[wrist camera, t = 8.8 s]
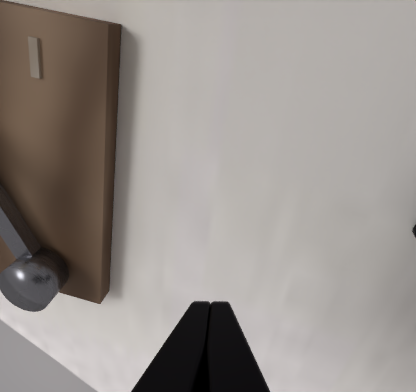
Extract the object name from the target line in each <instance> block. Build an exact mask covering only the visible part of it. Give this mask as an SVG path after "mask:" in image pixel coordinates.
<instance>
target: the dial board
mask: <svg viewBox="0 0 416 392" xmlns="http://www.w3.org/2000/svg"><path fill="white" fill-rule="evenodd" d="M120 40H121V24H117V23H112V22H107V21H102V20H97V19H92V18H87V17H82V16H77V15H73V14H68V13H63V12H58V11H53V10H48V9H43V8H38V7H33V6H29V5H24V4H19V3H14V2H9V1H4V0H0V182H1V184H2V185H3V187H4V189H5V190H6V192H7V193H8V195H9V197H10V198H11V200H12V201H13V203H14V204H15V206H16V208H17V209H18V211H19V212H20V214H21V216H22V217H23V219H24V220H25V222H26V224H27V225H28V227H29V228H30V230H31V231H32V233H33V235H34V236H35V238H36V239H37V241H38V243H39V244H40V246H41V247H43V248H46V249H49V250H51V251H53V252H54V253H56V254H57V255H58V256H60V257H61V258H62V260H63V261H64V262H65V264H66V265H67V267H68V270H69V279H68V281H67V283H66V284H65V285H64V286H63V288H62V289H61V290H60V291H59V292H60V293H63V294H67V295H70V296H74V297H77V298H81V299H84V300H87V301H91V302H94V303H98V304H101V302H102V301H103V299H104V298H105V296H106V295H107V293H108V292H109V284H110V262H111V240H112V218H113V195H114V173H115V151H116V129H117V107H118V85H119V62H120ZM15 260H16V258H15V256H14V255H13V253H12V252H11V250H10V249H9V248H8V246H7V245H6V243H5V242H4V240H3V239H2V237H1V236H0V273H1V272H2V271H3V270H5V269H6V268H7V267H8V266H9V265H10V264H12V263H13V262H14V261H15Z"/></svg>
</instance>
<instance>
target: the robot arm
mask: <svg viewBox="0 0 416 392" xmlns="http://www.w3.org/2000/svg"><path fill="white" fill-rule="evenodd" d="M412 232H413V234H414V236H415V237H416V225H415V226H414V228H413V231H412ZM131 392H270V390H269V388H268V386H267V384H266V382H265V379H264V377H263V375H262V373H261V371H260V369H259V366H258V364H257V362H256V360H255V358H254V355H253V353H252V351H251V349H250V347H249V345H248V342H247V340H246V338H245V336H244V334H243V332H242V329H241V327H240V325H239V323H238V321H237V319H236V316H235V314H234V312H233V310H232V308H231V305H230V304H229V303H228V302H220V301H214V302H212V303H211V304H210V302H208V301H194V302H192V304H191V305H190V306H189V308H188V309H187V311H186V312H185V314H184V315H183V317H182V318H181V319H180V321H179V322H178V324H177V325H176V327H175V328H174V330H173V331H172V333H171V334H170V336H169V337H168V338H167V340H166V341H165V343H164V344H163V346H162V347H161V349H160V350H159V352H158V353H157V355H156V356H155V358H154V359H153V360H152V362H151V363H150V365H149V366H148V368H147V369H146V371H145V372H144V374H143V375H142V377H141V378H140V379H139V381H138V382H137V384H136V385H135V387H134V388H133V390H132V391H131Z"/></svg>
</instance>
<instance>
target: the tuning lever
mask: <svg viewBox="0 0 416 392" xmlns="http://www.w3.org/2000/svg"><path fill="white" fill-rule="evenodd" d="M0 236H1V237H2V239H3V240H4V242H5V243H6V245H7V246H8V248H9V249H10V250H11V252H12V253H13V255H14V256H15V258H16V260H15V261H14V262H13V263H12V264H10V265H9V266H8V267H7V268H6V269H5V270H3V271H2V272H1V273H0V290H1V292H2V293H3V295H4V296H5V297H6V298H7V299H8V300H9V301H10V302H11V303H12V304H14V305H15V306H17V307H19V308H21V309H23V310H27V311H32V312H36V311H41V310H43V309H44V308H46V306H47V305H48V304H49V303H50V302H51V301H52V299H53V298H54V297H55V296H56V295H57V293H58V292H59V291H60V290H61V289H62V288H63V286H64V285H65V284H66V283H67V281H68V279H69V270H68V267H67V265H66V264H65V262H64V261H63V260H62V258H61V257H60V256H58V255H57V254H56V253H54V252H53V251H51V250H49V249H46V248H43V247H41V246H40V244H39V243H38V241H37V239H36V238H35V236H34V235H33V233H32V231H31V230H30V228H29V227H28V225H27V224H26V222H25V220H24V219H23V217H22V216H21V214H20V212H19V211H18V209H17V208H16V206H15V204H14V203H13V201H12V200H11V198H10V197H9V195H8V193H7V192H6V190H5V189H4V187H3V185H2V184H1V182H0Z"/></svg>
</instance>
